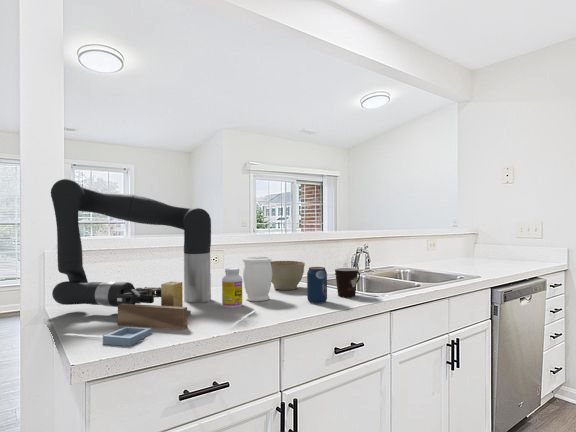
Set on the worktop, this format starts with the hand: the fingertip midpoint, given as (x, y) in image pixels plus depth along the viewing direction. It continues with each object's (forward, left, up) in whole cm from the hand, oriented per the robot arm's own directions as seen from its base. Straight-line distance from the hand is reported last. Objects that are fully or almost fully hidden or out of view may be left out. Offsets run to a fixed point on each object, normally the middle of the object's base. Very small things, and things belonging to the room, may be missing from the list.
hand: (161, 296), depth 118 cm
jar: (-33, +18, -7) cm, 38 cm away
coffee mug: (-47, +50, -7) cm, 69 cm away
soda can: (-33, +40, -7) cm, 53 cm away
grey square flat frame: (0, +3, -7) cm, 7 cm away
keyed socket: (+20, +3, -7) cm, 21 cm away
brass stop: (0, +3, -6) cm, 7 cm away
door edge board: (+10, +3, -7) cm, 12 cm away
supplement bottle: (-19, +14, -7) cm, 25 cm away
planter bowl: (-57, +22, -7) cm, 62 cm away
